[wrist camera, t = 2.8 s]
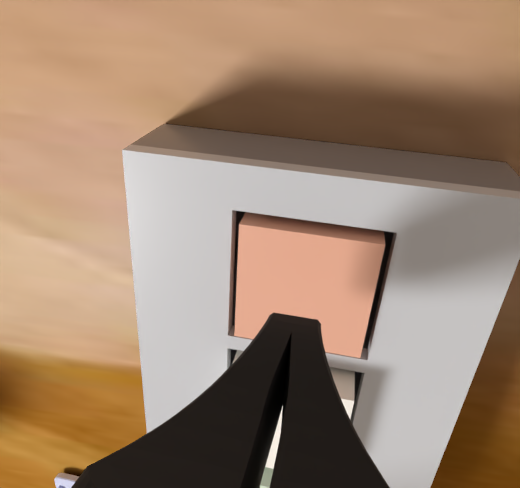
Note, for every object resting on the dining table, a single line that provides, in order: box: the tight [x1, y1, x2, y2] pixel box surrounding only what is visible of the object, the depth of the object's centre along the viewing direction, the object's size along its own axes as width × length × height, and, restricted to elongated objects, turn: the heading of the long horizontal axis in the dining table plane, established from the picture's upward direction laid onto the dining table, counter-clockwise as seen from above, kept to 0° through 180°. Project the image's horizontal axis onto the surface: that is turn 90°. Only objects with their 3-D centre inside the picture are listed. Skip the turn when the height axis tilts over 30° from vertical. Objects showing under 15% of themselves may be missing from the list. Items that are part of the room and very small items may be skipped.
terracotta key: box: [234, 212, 385, 358], centre depth 16 cm, size 4×4×2 cm
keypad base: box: [122, 124, 520, 488], centre depth 19 cm, size 19×12×3 cm, turn 177°
